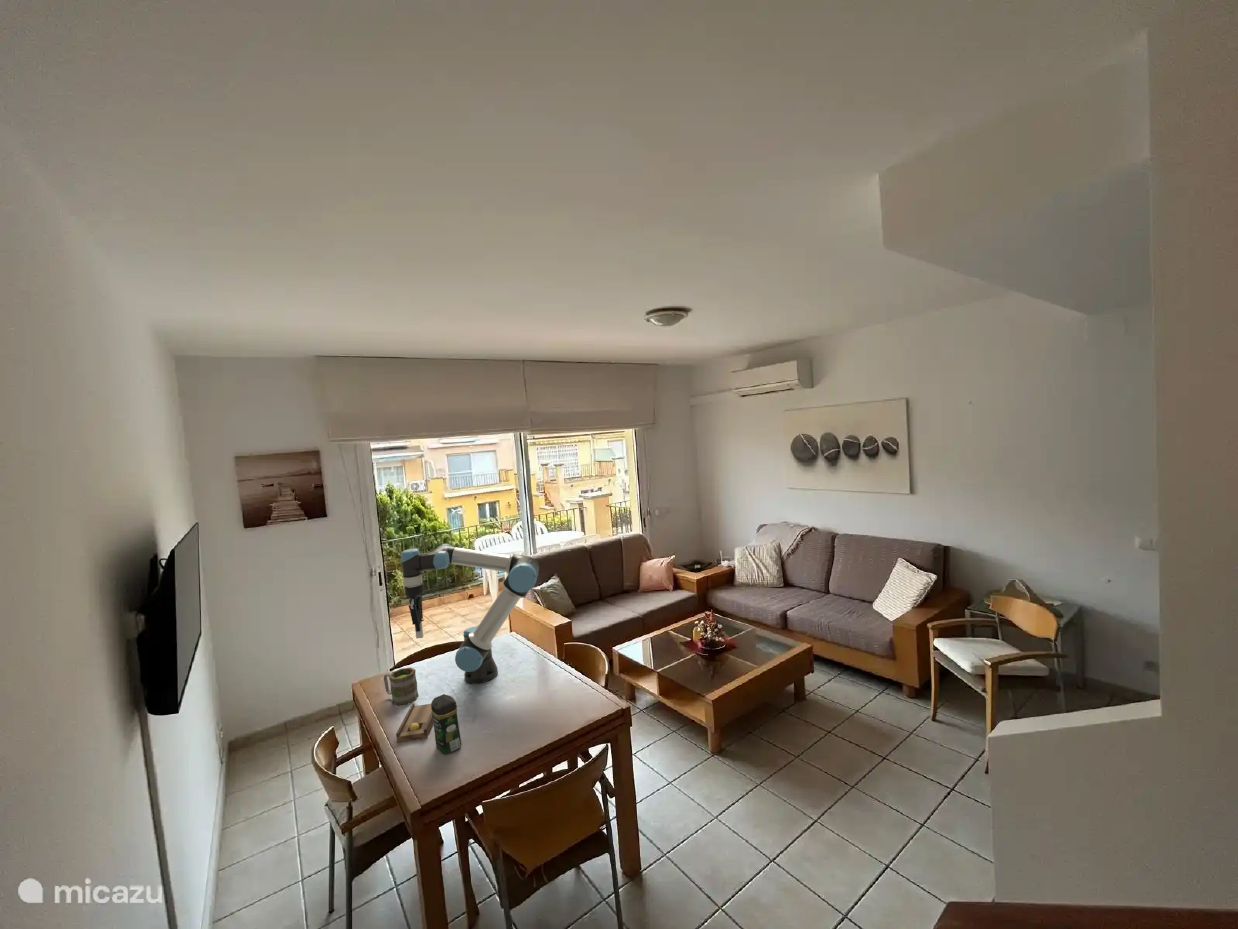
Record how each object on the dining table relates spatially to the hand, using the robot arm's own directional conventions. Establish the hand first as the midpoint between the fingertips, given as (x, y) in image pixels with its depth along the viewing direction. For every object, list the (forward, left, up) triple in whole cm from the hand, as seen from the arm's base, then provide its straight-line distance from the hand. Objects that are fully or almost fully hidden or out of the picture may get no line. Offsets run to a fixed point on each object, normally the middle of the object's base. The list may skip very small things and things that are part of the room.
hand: (419, 637), depth 229 cm
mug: (+11, 0, -27) cm, 29 cm away
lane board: (-3, +24, -26) cm, 36 cm away
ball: (-2, +29, -25) cm, 38 cm away
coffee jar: (-18, +43, -27) cm, 54 cm away
